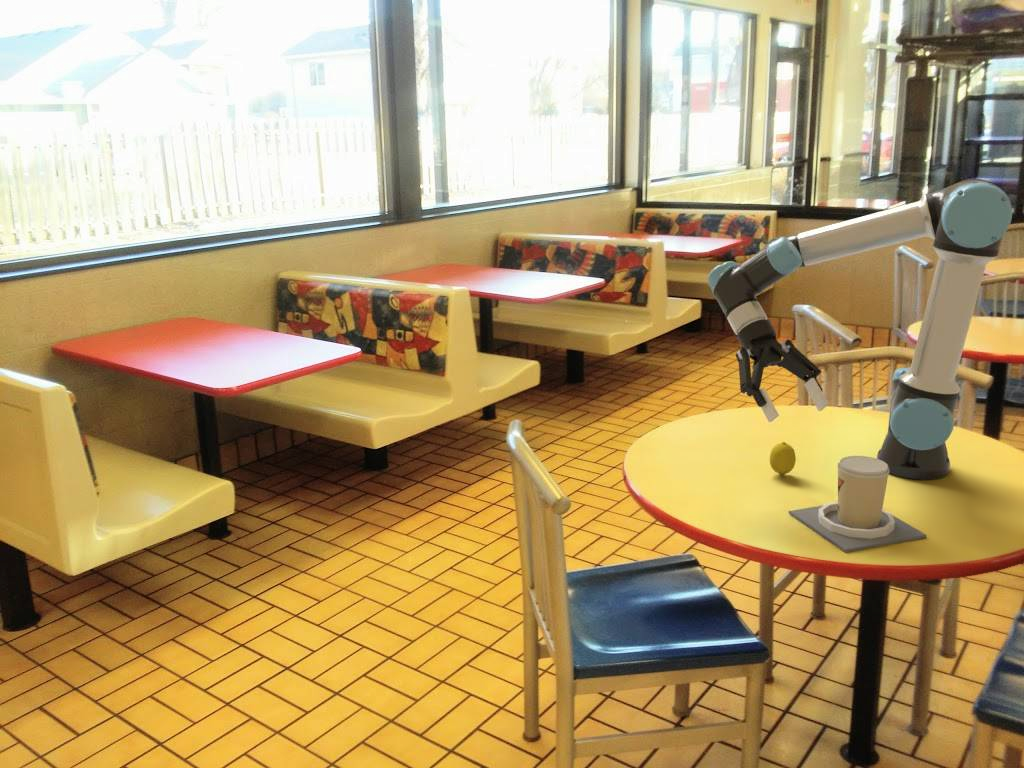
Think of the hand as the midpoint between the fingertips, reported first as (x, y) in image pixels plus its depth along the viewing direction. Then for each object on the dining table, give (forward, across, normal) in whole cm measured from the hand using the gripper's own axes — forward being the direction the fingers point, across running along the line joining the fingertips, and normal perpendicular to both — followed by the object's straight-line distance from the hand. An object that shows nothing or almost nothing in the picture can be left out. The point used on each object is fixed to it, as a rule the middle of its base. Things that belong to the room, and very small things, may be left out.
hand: (799, 413), depth 182 cm
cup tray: (+24, -1, -3) cm, 24 cm away
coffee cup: (+24, -2, -3) cm, 24 cm away
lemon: (+6, -7, -22) cm, 24 cm away
